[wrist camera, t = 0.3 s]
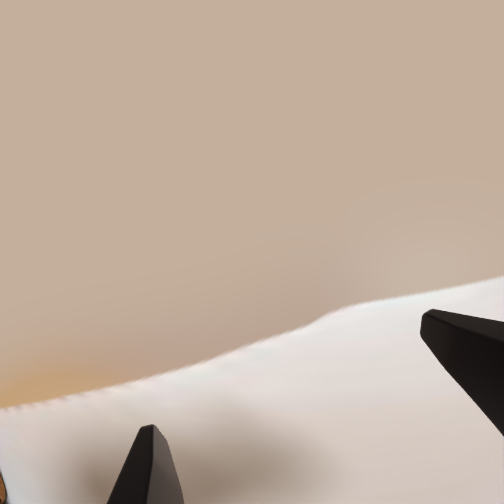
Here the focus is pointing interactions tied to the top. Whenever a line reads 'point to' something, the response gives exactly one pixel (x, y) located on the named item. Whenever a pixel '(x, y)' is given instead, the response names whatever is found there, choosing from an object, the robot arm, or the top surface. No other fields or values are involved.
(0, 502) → the wooden carving
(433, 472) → the top surface
